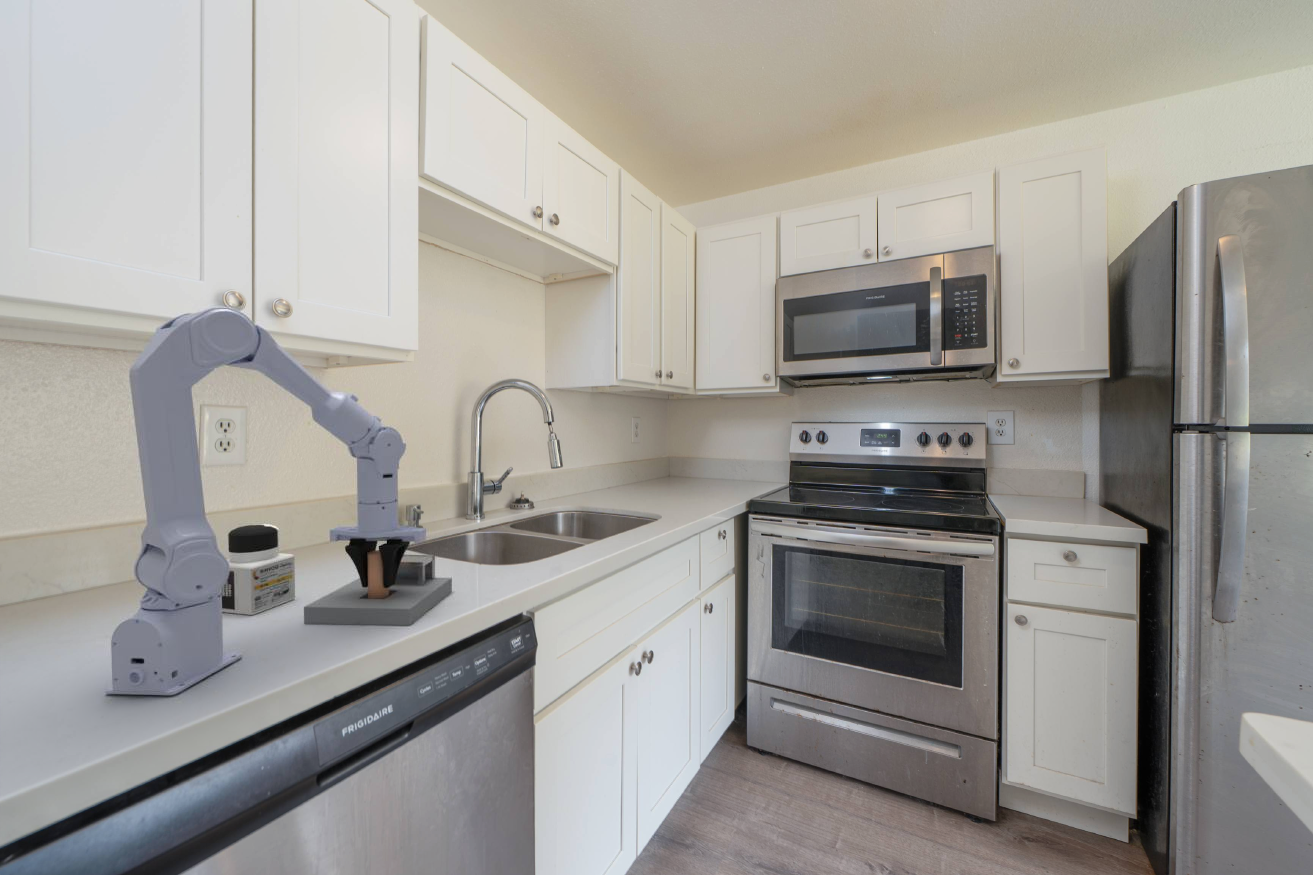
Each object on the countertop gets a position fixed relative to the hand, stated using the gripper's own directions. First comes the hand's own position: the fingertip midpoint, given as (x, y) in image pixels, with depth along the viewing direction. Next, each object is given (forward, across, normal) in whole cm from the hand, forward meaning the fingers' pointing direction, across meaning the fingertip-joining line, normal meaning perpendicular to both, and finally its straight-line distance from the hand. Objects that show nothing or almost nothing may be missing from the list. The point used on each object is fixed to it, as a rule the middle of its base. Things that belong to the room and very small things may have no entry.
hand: (378, 585), depth 83 cm
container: (+4, +21, -1) cm, 21 cm away
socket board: (+4, 0, -2) cm, 4 cm away
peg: (+4, 0, 0) cm, 4 cm away
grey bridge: (+1, 0, -7) cm, 7 cm away
